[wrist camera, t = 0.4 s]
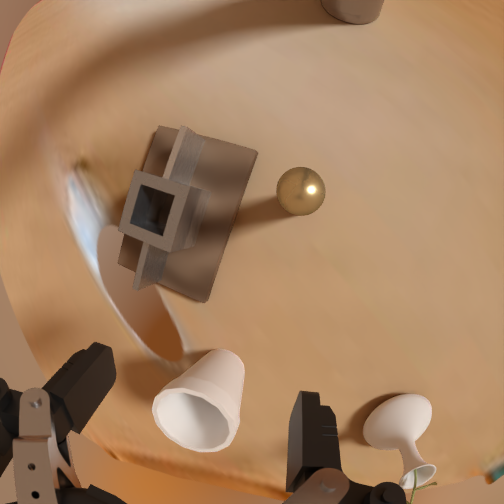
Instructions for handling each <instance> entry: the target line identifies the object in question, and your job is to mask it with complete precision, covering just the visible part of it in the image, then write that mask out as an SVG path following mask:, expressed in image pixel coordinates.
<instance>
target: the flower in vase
mask: <svg viewBox="0 0 504 504" xmlns="http://www.w3.org/2000/svg"><path fill="white" fill-rule="evenodd" d="M431 416H432V408H431V404H430V402H429V401H428V400H427V399H426V398H425V397H424V396H421V395H418V394H403V395H398V396H395V397H393V398H390V399H388V400H387V401H385V402H383V403H382V404H380V405H379V406H378V407H377V408H375V409H374V410H373V412H372V413H371V414H370V415H369V417H368V418H367V420H366V422H365V424H364V427H363V436H364V438H365V440H366V441H367V442H368V443H369V444H370V445H371V446H372V447H374V448H376V449H380V450H396V449H399V450H400V452H401V455H402V458H403V464H404V472H403V475H402V477H401V479H400V481H399V486H400V487H401V488H403V489H410V488H413V492H412V497H411V500H410V503H409V502H408V501H406V503H407V504H412V502H413V498H414V494H415V490H420V489H423V488H426V487H428V486H430V485H437V483H436V482H433V483H431V484H429V485H426V486H423V487H420V488H417V489H416V487H418V486H420V485H422V484H424V483H425V482H427V481H428V480H430V479H431V478H432V477H433V475H434V474H435V472H436V467H435V466H434V465H432V464H428V463H426V462H425V461H424V460H423V459H422V458H421V456H420V455H419V453H418V451H417V449H416V446H415V440H417V439H418V438H419V437H420V436H421V435H422V434H423V432H424V431H425V430H426V428H427V427H428V425H429V423H430V420H431Z"/></svg>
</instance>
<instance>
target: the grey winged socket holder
mask: <svg viewBox="0 0 504 504" xmlns="http://www.w3.org/2000/svg"><path fill="white" fill-rule="evenodd" d="M204 143H205V140H204V139H203V138H202V137H200V136H199V135H198V134H196V133H195V132H194V131H192V130H191V129H190V128H188V127H186V126H181V127H180V130H179V132H178V135H177V138H176V140H175V143H174V146H173V149H172V151H171V154H170V157H169V160H168V163H167V166H166V169H165V172H164V175H163V177H162V176H158V175H154V174H151V173H147V172H143V171H139V170H135V172H134V175H133V178H132V182H131V185H130V188H129V192H128V195H127V199H126V202H125V206H124V209H123V213H122V217H121V221H120V225H119V229H118V231H120V232H122V233H124V234H127V235H129V236H131V237H134V238H136V239H138V240H141V241H143V246H142V250H141V254H140V258H139V262H138V266H137V270H136V274H135V279H134V283H133V289H135V290H137V291H139V290H141V289H143V288H146V287H148V286H150V285H152V284H154V283H157V282H159V281H161V279H162V275H163V271H164V268H165V264H166V260H167V257H168V253H171V252H175V251H178V250H182V249H186V248H189V247H193V246H194V245H195V242H196V239H197V236H198V233H199V229H200V226H201V223H202V220H203V217H204V214H205V211H206V208H207V205H208V202H209V199H210V196H211V193H212V192H209V191H206V190H203V189H200V188H197V187H194V186H191V185H190V182H191V179H192V176H193V174H194V171H195V168H196V165H197V162H198V159H199V157H200V154H201V151H202V148H203V146H204ZM168 193H169V194H172V195H175V198H174V201H173V204H172V207H171V210H170V214H169V217H168V220H167V224H164V223H161V222H159V220H160V216H161V213H162V210H163V206H164V203H165V200H166V197H167V194H168Z"/></svg>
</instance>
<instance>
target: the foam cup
mask: <svg viewBox="0 0 504 504" xmlns="http://www.w3.org/2000/svg"><path fill="white" fill-rule="evenodd" d="M244 374H245V371H244V364H243V363H242V361H241V360H240V358H239V357H238V356H237V355H235V354H234V353H232V352H231V351H228V350H224V349H216V350H211V351H210V352H208V353H207V354H206V355H205V356H203V357H202V358H201V359H200V360H199V361H197V362H196V363H195V364H194V365H193V366H191V367H190V368H189V369H188V370H187V371H185V372H184V373H183V374H182V375H180V376H179V377H178V378H175V379H173V380H172V381H171V382H170V383H168V384H167V385H166V386H164V387H163V388H162V390H161V391H160V392H159V393H158V394H157V395H156V397H155V399H154V402H153V406H152V413H153V416H154V419H155V422H156V424H157V425H158V427H159V428H160V429H161V430H162V431H163V433H164V434H165V435H166V436H167V437H168V438H170V439H171V440H173V441H174V442H176V443H177V444H179V445H180V446H182V447H185V448H188V449H191V450H194V451H198V452H217V451H219V450H221V449H223V448H225V447H227V446H229V445H230V443H231V442H232V440H233V438H234V436H235V434H236V432H237V429H238V426H239V423H240V418H239V412H240V405H241V398H242V390H243V383H244Z"/></svg>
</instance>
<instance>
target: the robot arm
mask: <svg viewBox="0 0 504 504" xmlns="http://www.w3.org/2000/svg"><path fill="white" fill-rule="evenodd" d="M383 2H384V0H321V3H322V6H323V7H324V9H325V10H326V11H327V12H328V13H329V14H331V15H332V16H334V17H335V18H337V19H339V20H342V21H345V22H349V23H354V24H366V23H370V22H373V21H374V20H376V19H377V18H378V16H379V15H380V11H381V8H382V5H383ZM115 380H116V369H115V363H114V358H113V352H112V349H111V347H109V346H106V345H103V344H100V343H97V342H94V343H93V344H92V345H91V346H90V347H89V348H88V349H87V350H85V349H83V350H81V351H79V352H77V353H75V354H73V355H72V356H71V357H70V358H69V360H68V361H67V363H65V364H64V365H63V366H62V368H60V369H59V370H58V371H57V372H56V373H55V374H54V375H53V377H52V378H51V379H50V380H49V381H48V382H47V383H46V384H45V385H44V387H42V388H41V389H40V388H31V389H28V390H26V391H25V392H24V393H23V392H19V391H16V390H12V389H9V387H8V385H7V383H6V382H5V380H3V379H2V378H0V477H1V475H2V474H3V472H4V470H5V469H6V467H7V466H8V464H9V462H10V461H11V459H12V458H13V464H14V477H15V486H16V495H17V502H12V503H7V504H127V503H125V502H124V501H122V500H121V499H119V498H118V497H117V496H115V495H112V494H110V493H108V492H106V491H104V490H102V489H99V488H97V487H95V486H93V485H91V484H90V486H89V488H88V489H86V488H82V487H81V485H80V482H79V479H78V478H77V475H76V473H75V469H74V464H73V460H72V454H71V448H70V442H69V436H68V433H69V432H70V430H72V431H74V432H76V433H78V434H80V433H81V431H82V430H83V428H84V427H85V425H86V424H87V422H88V421H89V419H90V418H91V416H92V415H93V413H94V412H95V411H96V409H97V408H98V406H99V405H100V403H101V402H102V400H103V399H104V398H105V396H106V395H107V393H108V392H109V390H110V389H111V388H112V386H113V385H114V383H115ZM336 427H337V424H336V416H335V414H334V413H333V411H332V409H331V408H330V406H323V405H320V396H319V393H318V392H308V391H300V392H299V394H298V397H297V400H296V402H295V405H294V408H293V411H292V413H291V417H290V421H289V435H288V459H287V477H286V492H293V494H292V495H291V496H290V497H289V498H288V499H287V500H286V501H285V502H284V503H282V504H407V503H406V497H405V492H404V490H403V489H402V488H401V487H400V486H399V485H398V484H396V483H393V482H383V483H380V484H378V485H377V486H375V487H372V486H367V485H363V484H358V483H355V482H353V481H351V480H350V479H348V478H347V476H346V475H345V474H344V473H343V471H342V468H341V460H340V450H339V441H338V437H337V435H338V432H337V428H336Z"/></svg>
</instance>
